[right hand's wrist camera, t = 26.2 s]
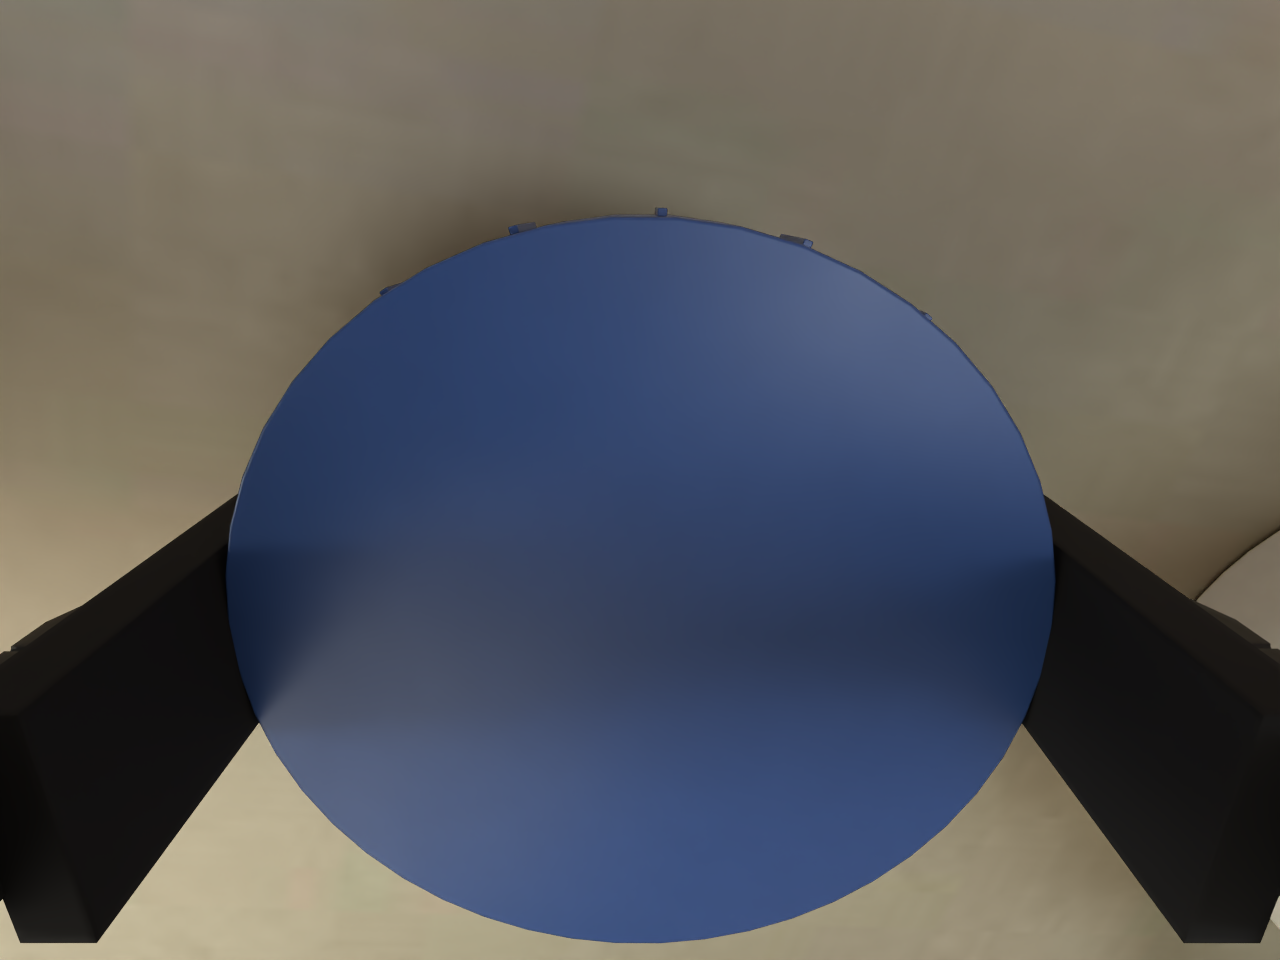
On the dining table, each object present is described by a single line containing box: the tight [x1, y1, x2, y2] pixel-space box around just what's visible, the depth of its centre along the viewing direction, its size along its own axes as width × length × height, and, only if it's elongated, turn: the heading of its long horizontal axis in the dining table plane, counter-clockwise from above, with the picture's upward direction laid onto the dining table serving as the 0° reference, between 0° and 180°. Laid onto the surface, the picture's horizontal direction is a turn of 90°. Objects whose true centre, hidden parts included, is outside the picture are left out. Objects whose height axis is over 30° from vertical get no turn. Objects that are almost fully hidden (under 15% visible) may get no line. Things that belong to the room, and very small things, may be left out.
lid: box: [226, 208, 1056, 943], centre depth 11 cm, size 11×11×2 cm
